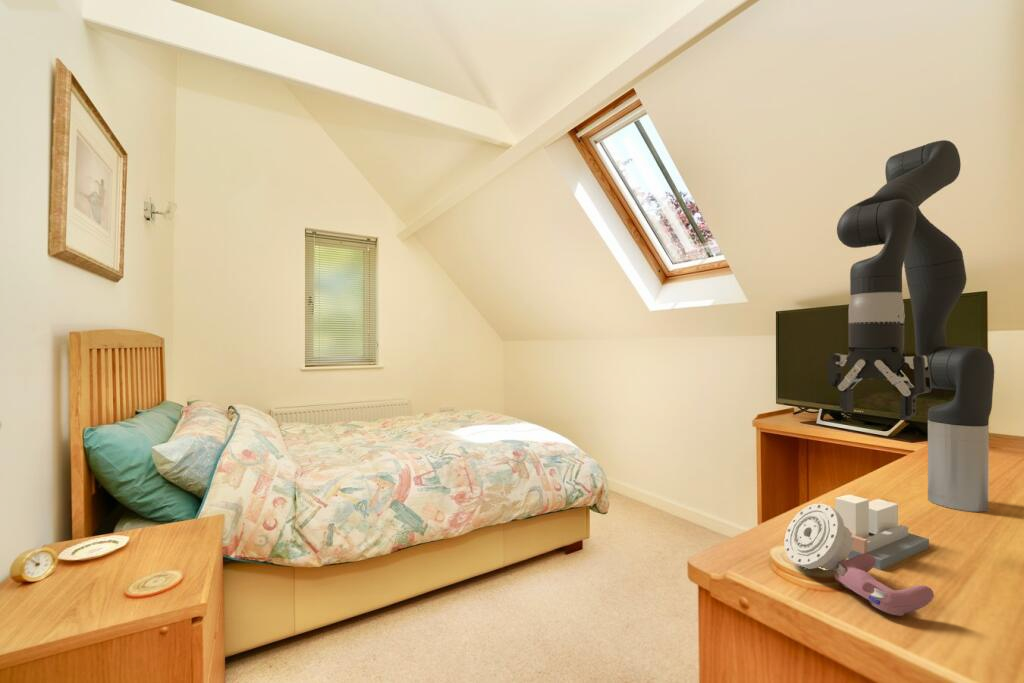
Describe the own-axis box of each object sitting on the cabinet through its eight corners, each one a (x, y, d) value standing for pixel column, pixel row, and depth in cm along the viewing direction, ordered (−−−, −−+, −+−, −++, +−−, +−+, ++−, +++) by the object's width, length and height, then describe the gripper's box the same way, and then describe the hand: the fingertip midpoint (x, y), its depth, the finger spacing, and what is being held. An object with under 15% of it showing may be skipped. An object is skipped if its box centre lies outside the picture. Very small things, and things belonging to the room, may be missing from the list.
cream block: (877, 498, 83) (857, 505, 80) (897, 504, 81) (877, 510, 77) (877, 524, 83) (857, 532, 80) (897, 530, 81) (877, 538, 77)
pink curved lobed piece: (866, 583, 67) (821, 578, 66) (871, 552, 67) (826, 547, 66) (934, 627, 57) (881, 621, 56) (940, 590, 57) (887, 584, 56)
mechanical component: (776, 527, 76) (822, 490, 72) (799, 542, 76) (847, 506, 72) (791, 576, 68) (845, 536, 63) (818, 593, 67) (874, 555, 63)
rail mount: (854, 525, 87) (854, 479, 87) (929, 548, 77) (929, 496, 77) (804, 542, 79) (804, 492, 79) (880, 570, 70) (880, 513, 70)
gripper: (819, 321, 84) (819, 411, 84) (917, 318, 72) (917, 423, 72) (841, 322, 88) (841, 408, 88) (938, 319, 75) (938, 419, 75)
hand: (875, 415), depth 80 cm, fingers open, 8 cm apart
